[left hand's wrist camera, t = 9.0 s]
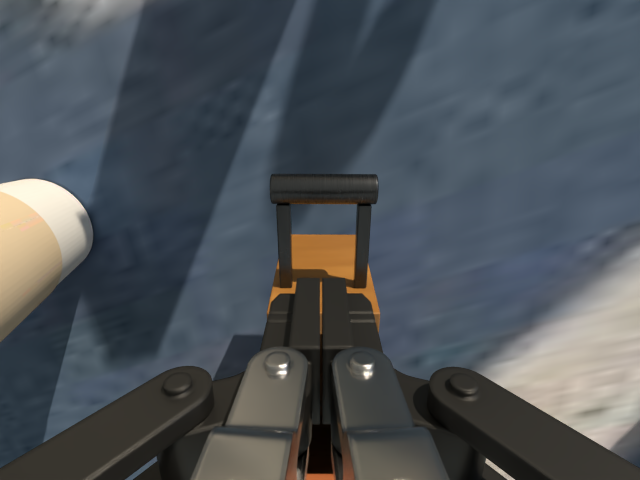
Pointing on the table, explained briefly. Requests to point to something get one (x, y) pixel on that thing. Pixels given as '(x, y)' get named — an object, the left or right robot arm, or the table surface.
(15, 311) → the coffee cup
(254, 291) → the table surface
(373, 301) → the drawer
